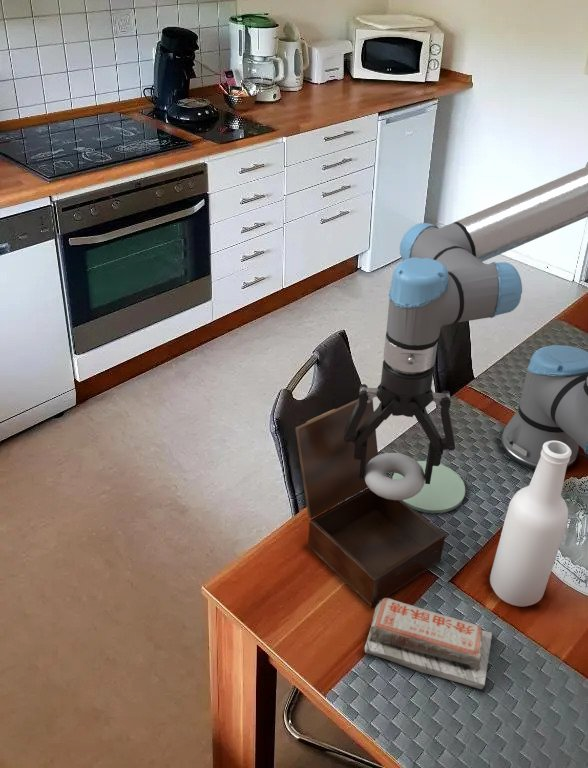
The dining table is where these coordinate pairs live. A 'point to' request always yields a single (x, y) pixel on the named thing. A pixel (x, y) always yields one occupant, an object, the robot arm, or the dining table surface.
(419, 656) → the packaged product
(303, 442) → the lid
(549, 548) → the alcohol
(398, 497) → the donut
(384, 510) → the wooden box
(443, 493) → the saucer
